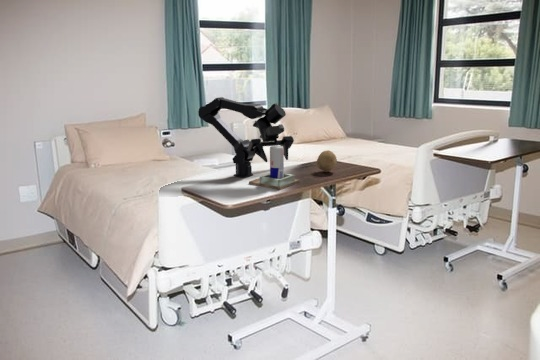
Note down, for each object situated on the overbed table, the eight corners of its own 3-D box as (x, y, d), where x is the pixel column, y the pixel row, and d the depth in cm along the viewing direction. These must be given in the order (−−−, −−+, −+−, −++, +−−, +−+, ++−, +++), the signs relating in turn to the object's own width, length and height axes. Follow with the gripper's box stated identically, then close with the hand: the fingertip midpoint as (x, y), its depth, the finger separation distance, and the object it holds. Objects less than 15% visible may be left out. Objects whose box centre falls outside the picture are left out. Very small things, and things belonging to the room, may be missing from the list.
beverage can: (280, 180, 203) (280, 144, 199) (286, 183, 198) (285, 147, 194) (268, 181, 201) (267, 146, 197) (273, 184, 196) (273, 148, 192)
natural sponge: (340, 173, 218) (341, 151, 216) (324, 175, 215) (324, 153, 212) (330, 169, 226) (330, 148, 224) (313, 171, 223) (313, 149, 220)
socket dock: (248, 183, 202) (248, 175, 201) (268, 177, 213) (268, 168, 212) (280, 189, 193) (280, 180, 192) (299, 182, 204) (299, 173, 203)
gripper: (250, 119, 194) (261, 151, 187) (292, 116, 201) (304, 147, 194) (243, 136, 203) (254, 167, 196) (283, 132, 210) (295, 162, 203)
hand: (277, 160), depth 197 cm, fingers open, 9 cm apart
